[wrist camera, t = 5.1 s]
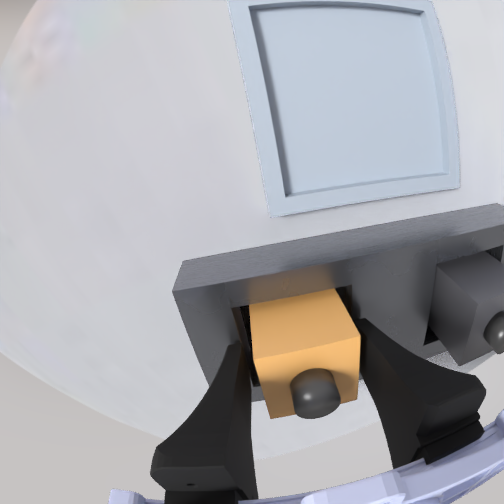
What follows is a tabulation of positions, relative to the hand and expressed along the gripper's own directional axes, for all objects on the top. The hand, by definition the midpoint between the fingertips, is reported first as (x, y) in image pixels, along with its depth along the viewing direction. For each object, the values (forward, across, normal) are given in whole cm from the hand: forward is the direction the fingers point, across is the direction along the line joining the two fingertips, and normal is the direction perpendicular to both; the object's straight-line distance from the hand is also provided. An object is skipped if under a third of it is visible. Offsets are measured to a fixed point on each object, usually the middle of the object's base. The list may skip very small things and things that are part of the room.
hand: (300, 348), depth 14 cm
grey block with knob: (+3, -10, 0) cm, 11 cm away
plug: (+3, 0, 0) cm, 4 cm away
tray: (+3, -5, -11) cm, 13 cm away
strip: (+3, -5, 0) cm, 6 cm away
